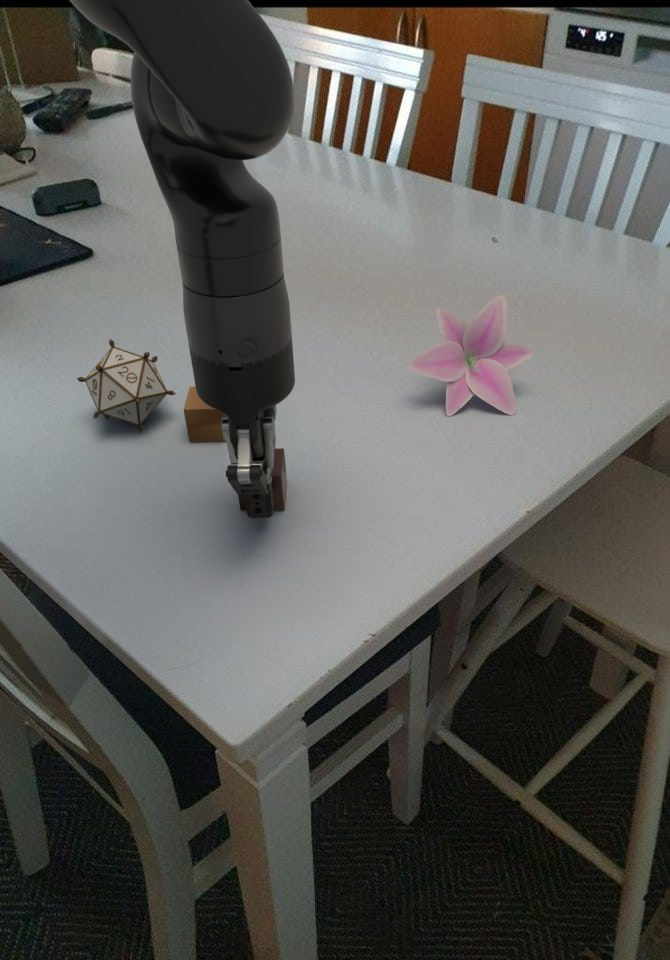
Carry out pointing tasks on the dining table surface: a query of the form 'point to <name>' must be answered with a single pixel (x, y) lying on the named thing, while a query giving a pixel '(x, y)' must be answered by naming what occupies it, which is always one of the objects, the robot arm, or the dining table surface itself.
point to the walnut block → (275, 482)
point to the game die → (125, 386)
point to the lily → (474, 358)
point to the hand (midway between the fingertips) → (260, 512)
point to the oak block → (202, 419)
